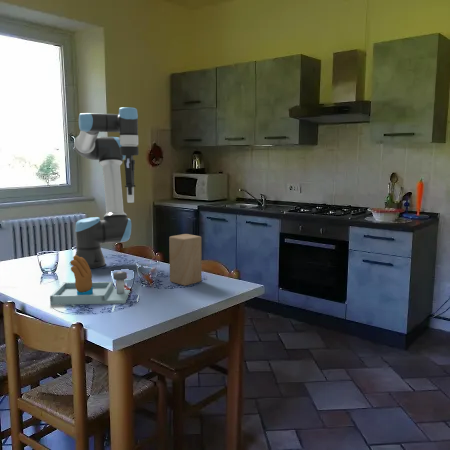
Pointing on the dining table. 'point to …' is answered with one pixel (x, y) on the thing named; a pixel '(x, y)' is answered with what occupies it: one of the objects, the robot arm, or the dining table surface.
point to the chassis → (100, 295)
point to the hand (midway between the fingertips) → (130, 202)
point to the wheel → (120, 275)
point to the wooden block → (185, 259)
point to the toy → (82, 276)
